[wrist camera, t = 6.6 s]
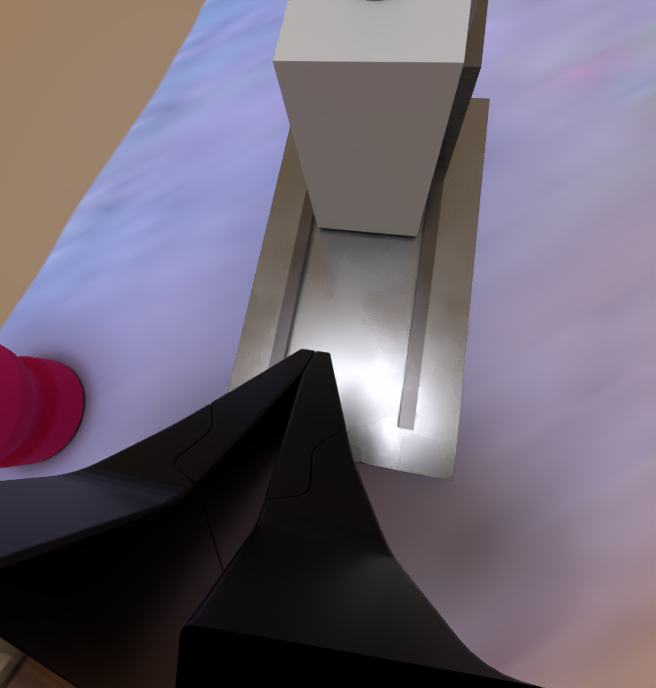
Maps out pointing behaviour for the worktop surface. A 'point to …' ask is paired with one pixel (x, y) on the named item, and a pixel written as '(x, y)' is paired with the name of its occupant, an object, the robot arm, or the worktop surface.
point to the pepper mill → (36, 408)
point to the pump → (370, 103)
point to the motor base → (381, 297)
